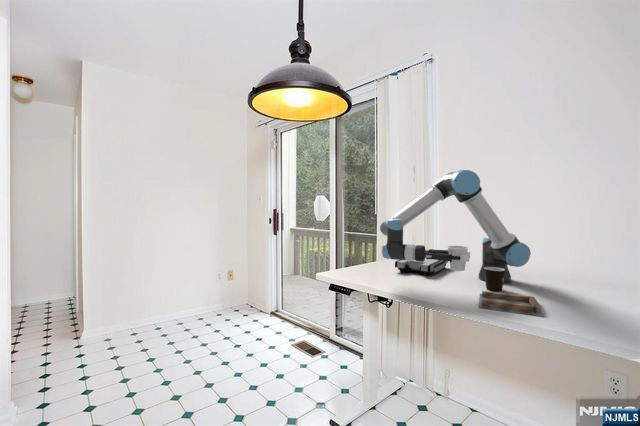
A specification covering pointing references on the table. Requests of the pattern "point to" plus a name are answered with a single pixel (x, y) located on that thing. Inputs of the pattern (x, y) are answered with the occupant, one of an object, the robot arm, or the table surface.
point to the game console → (421, 266)
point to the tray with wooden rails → (510, 303)
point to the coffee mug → (494, 278)
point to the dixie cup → (461, 251)
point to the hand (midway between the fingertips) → (469, 256)
